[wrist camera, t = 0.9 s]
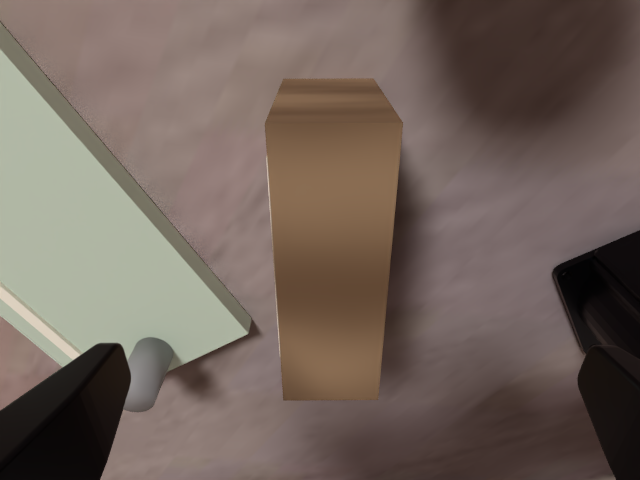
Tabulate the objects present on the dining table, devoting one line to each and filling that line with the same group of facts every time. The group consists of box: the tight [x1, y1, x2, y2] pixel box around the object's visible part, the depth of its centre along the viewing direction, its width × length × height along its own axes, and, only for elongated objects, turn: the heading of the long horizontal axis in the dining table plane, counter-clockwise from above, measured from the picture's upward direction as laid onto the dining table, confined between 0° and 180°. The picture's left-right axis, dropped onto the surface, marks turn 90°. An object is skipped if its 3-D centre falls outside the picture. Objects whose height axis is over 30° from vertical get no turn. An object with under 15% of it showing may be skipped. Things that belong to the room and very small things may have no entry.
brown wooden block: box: [265, 79, 403, 400], centre depth 17 cm, size 10×4×7 cm, turn 0°
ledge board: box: [0, 22, 252, 412], centre depth 19 cm, size 18×10×4 cm, turn 30°
